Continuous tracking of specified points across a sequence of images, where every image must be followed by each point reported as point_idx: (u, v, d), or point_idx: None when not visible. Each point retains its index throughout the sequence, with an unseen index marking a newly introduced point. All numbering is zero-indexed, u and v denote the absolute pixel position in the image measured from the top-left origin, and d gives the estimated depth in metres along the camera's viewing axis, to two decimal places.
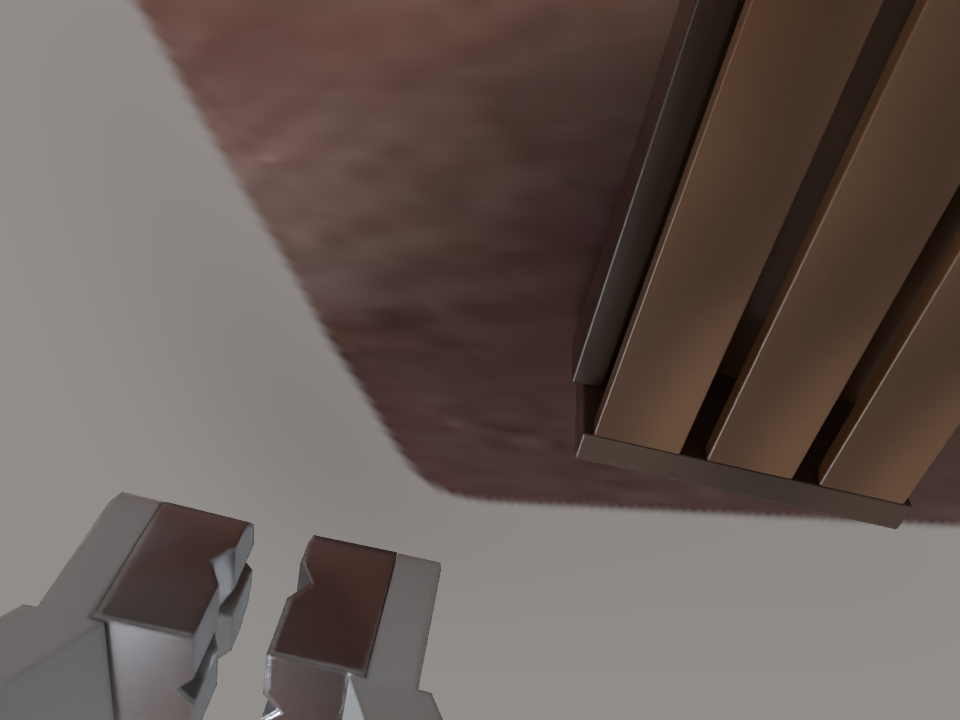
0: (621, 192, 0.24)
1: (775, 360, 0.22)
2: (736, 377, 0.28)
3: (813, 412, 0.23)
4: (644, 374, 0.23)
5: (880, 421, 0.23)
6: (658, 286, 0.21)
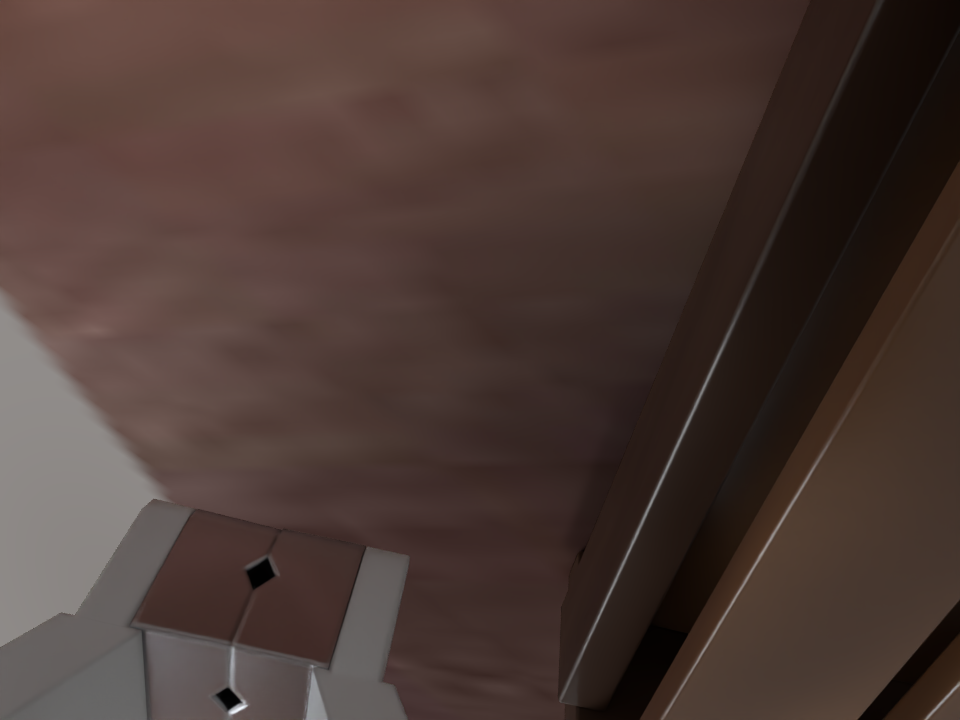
0: (640, 426, 0.15)
1: None
2: None
3: None
4: None
5: None
6: (711, 668, 0.11)
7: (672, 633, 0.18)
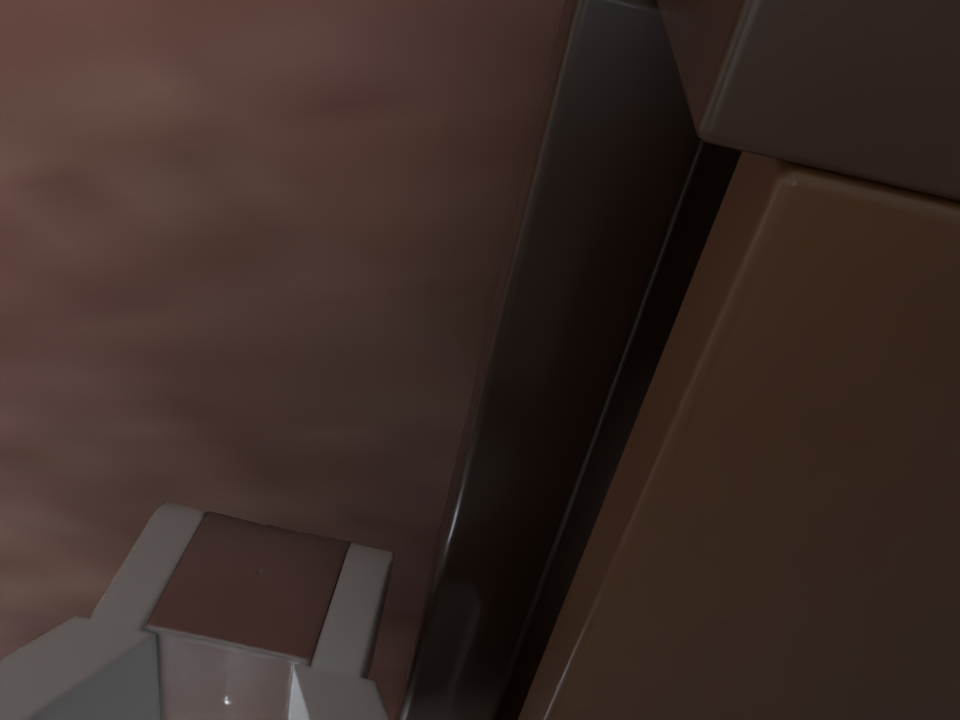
0: (420, 613, 0.11)
1: None
2: None
3: None
4: None
5: None
6: None
7: None
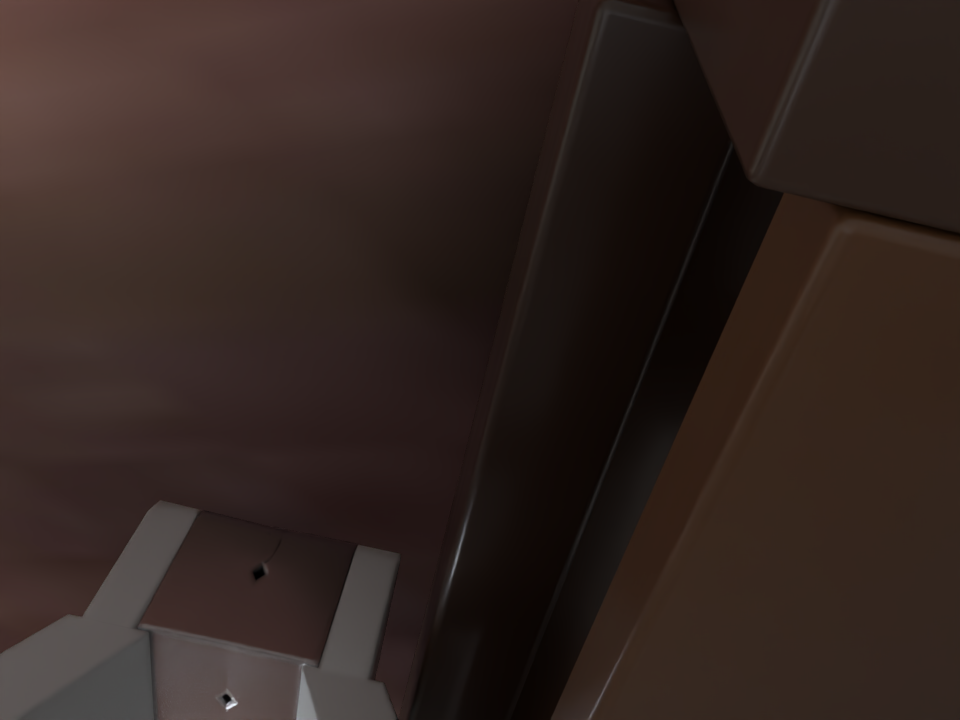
0: (420, 636, 0.11)
1: None
2: None
3: None
4: None
5: None
6: None
7: None
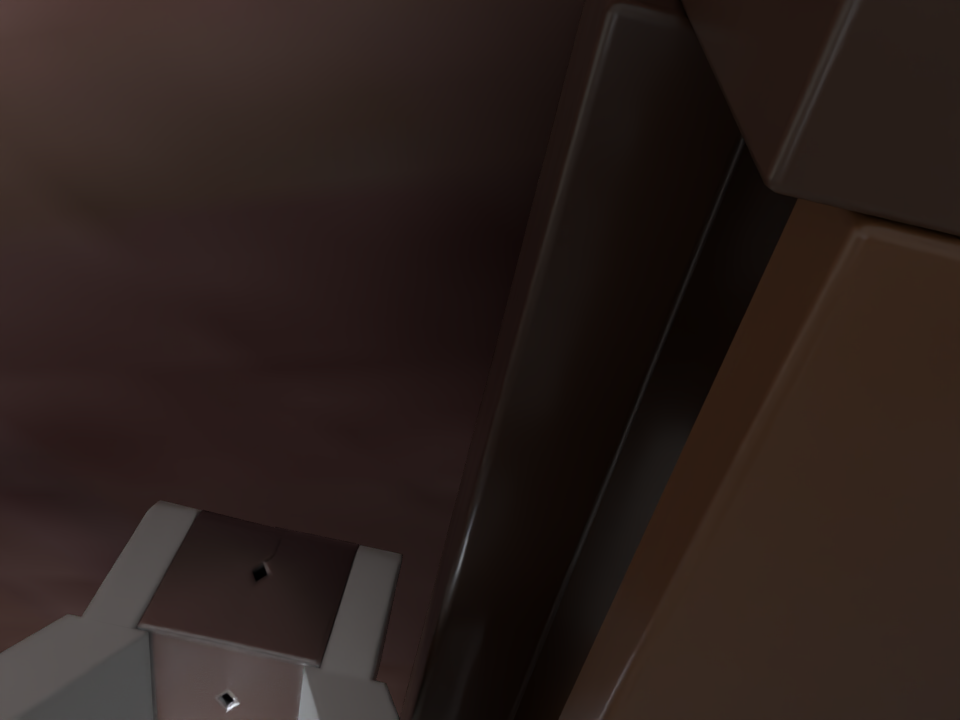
0: (422, 635, 0.11)
1: None
2: None
3: None
4: None
5: None
6: None
7: None
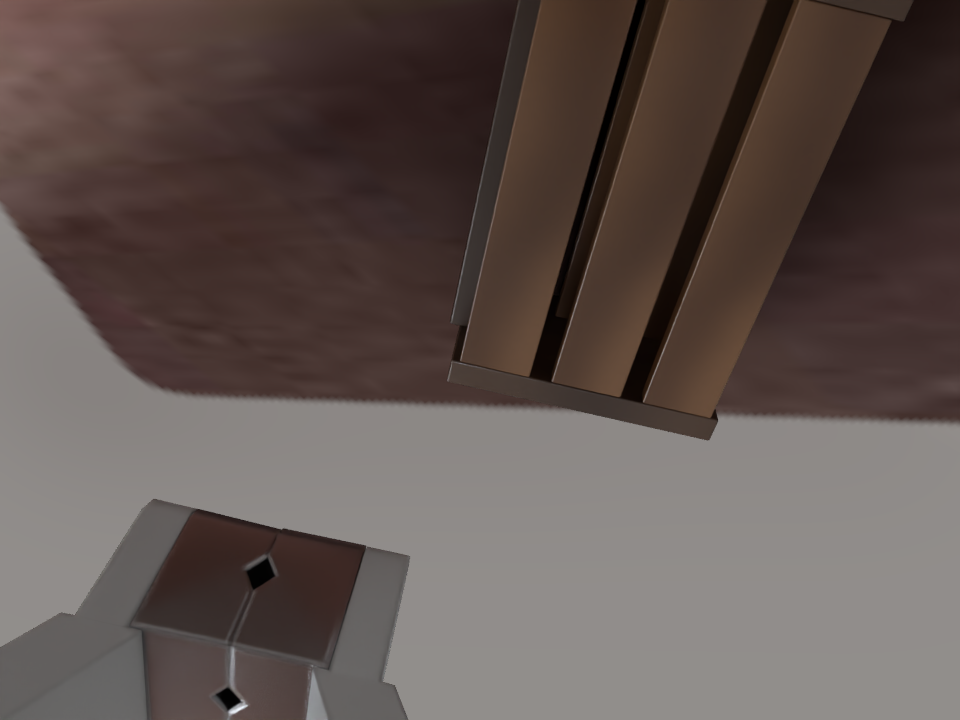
0: None
1: (593, 295, 0.28)
2: None
3: (629, 339, 0.28)
4: (493, 308, 0.28)
5: (681, 346, 0.28)
6: (495, 234, 0.27)
7: None
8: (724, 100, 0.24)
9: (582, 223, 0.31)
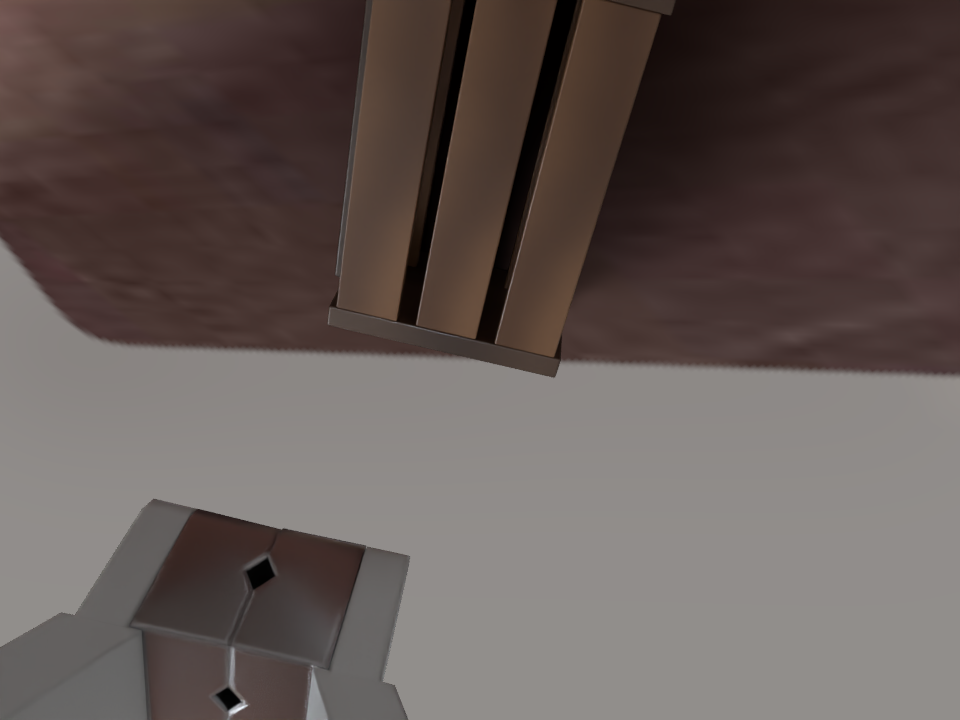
0: None
1: (443, 249, 0.32)
2: None
3: (477, 287, 0.33)
4: (360, 260, 0.33)
5: (521, 293, 0.33)
6: (355, 196, 0.31)
7: None
8: (533, 81, 0.28)
9: None
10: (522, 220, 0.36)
